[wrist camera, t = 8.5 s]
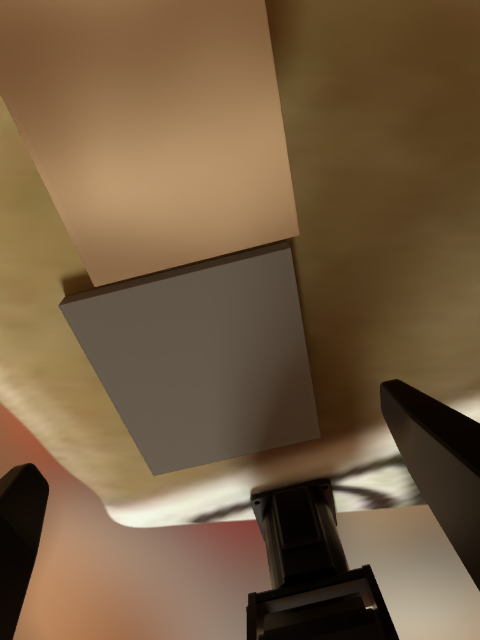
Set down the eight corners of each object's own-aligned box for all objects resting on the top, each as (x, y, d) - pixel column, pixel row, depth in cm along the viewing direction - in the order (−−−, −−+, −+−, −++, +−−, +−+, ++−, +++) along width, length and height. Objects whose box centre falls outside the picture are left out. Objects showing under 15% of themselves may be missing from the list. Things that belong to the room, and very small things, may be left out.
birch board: (287, 219, 13) (299, 235, 12) (108, 265, 14) (94, 287, 12) (207, -269, 8) (209, -375, 6) (-91, -177, 8) (-169, -253, 6)
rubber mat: (317, 426, 26) (321, 437, 25) (155, 464, 26) (153, 475, 25) (286, 241, 19) (290, 248, 18) (64, 296, 19) (58, 305, 18)
